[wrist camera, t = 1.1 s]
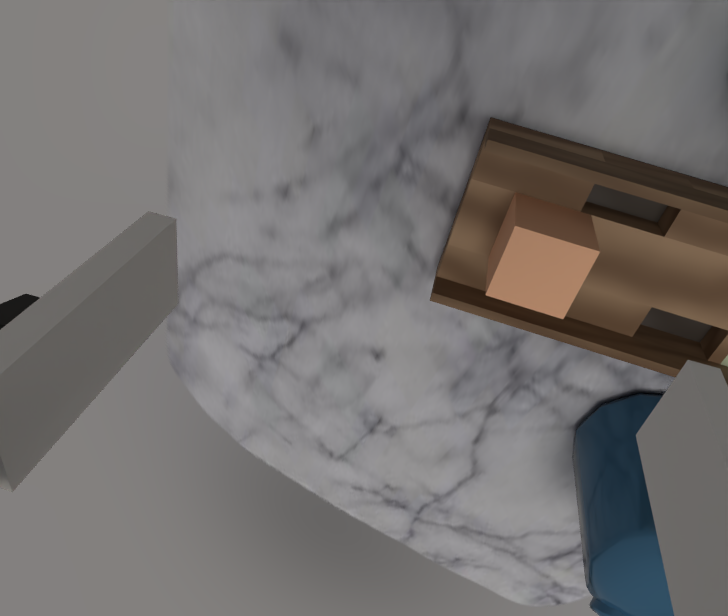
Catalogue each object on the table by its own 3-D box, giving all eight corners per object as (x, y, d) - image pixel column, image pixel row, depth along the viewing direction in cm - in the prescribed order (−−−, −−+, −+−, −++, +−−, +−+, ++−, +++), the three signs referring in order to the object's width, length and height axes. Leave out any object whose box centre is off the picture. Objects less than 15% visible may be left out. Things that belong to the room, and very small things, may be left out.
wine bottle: (665, 361, 48) (814, 808, 24) (759, 450, 51) (977, 928, 27) (537, 433, 56) (553, 827, 32) (626, 506, 59) (702, 919, 34)
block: (515, 192, 40) (515, 225, 36) (591, 214, 40) (600, 251, 36) (488, 256, 44) (485, 295, 39) (558, 278, 43) (563, 319, 39)
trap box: (490, 117, 40) (487, 144, 35) (915, 242, 39) (972, 288, 34) (437, 268, 48) (428, 307, 43) (790, 377, 46) (822, 431, 42)
